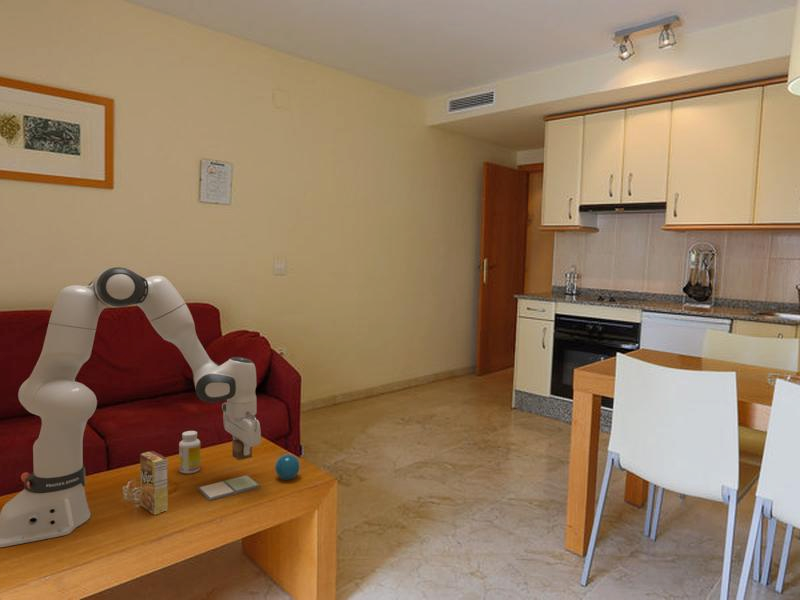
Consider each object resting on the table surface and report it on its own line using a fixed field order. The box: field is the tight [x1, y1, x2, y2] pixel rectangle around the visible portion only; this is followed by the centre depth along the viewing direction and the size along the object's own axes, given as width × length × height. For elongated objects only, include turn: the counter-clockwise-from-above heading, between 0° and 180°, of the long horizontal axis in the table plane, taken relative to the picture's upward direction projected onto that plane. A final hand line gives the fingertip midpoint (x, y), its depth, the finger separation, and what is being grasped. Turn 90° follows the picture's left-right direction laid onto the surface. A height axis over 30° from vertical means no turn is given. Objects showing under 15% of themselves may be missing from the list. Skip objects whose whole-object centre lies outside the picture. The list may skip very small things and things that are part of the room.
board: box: [197, 474, 261, 502], centre depth 167 cm, size 16×10×1 cm, turn 130°
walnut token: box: [231, 439, 253, 461], centre depth 169 cm, size 4×4×5 cm
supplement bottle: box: [178, 430, 202, 475], centre depth 179 cm, size 7×7×13 cm
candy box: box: [139, 450, 169, 516], centre depth 152 cm, size 9×4×15 cm, turn 50°
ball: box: [274, 453, 301, 481], centre depth 175 cm, size 8×8×8 cm
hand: (242, 451), depth 169 cm, fingers closed on walnut token, 4 cm apart
